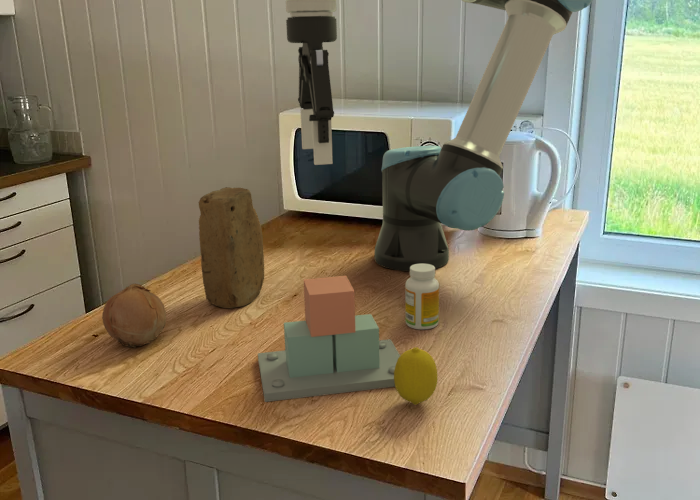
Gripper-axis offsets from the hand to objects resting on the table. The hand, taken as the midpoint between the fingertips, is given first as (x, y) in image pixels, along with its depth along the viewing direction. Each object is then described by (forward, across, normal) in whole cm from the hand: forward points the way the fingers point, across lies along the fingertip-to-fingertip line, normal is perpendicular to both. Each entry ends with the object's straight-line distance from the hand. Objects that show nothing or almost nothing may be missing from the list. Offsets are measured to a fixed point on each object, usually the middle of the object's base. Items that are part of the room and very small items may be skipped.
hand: (316, 156), depth 113 cm
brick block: (+20, +22, -2) cm, 29 cm away
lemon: (+27, +33, +7) cm, 43 cm away
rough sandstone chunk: (+27, -9, -14) cm, 32 cm away
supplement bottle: (+27, +9, +15) cm, 32 cm away
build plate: (+27, +22, -2) cm, 35 cm away
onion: (+27, +5, -30) cm, 41 cm away
